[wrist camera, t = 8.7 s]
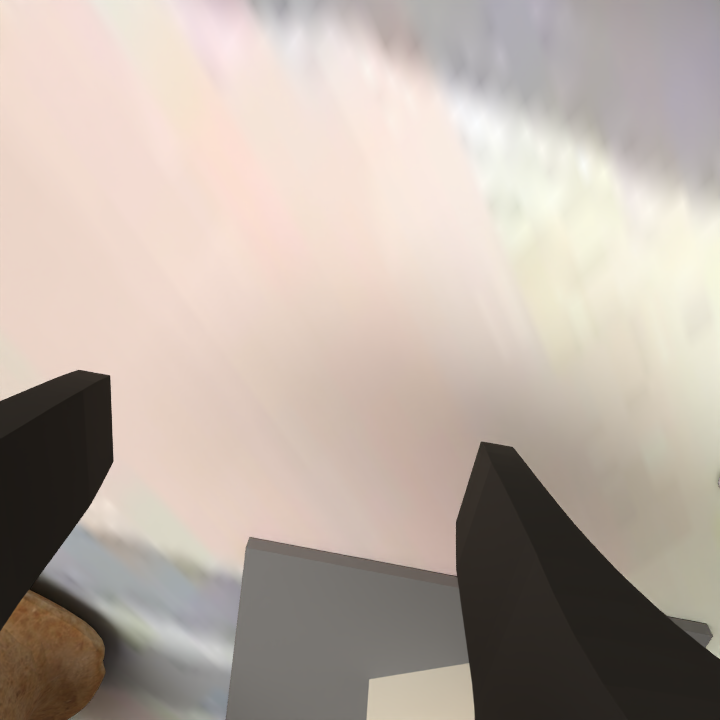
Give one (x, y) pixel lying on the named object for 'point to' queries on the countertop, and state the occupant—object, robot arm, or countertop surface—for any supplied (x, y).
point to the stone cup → (47, 662)
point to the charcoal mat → (340, 631)
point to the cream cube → (423, 695)
